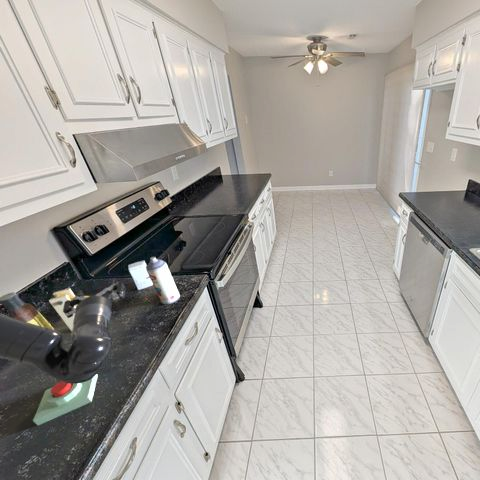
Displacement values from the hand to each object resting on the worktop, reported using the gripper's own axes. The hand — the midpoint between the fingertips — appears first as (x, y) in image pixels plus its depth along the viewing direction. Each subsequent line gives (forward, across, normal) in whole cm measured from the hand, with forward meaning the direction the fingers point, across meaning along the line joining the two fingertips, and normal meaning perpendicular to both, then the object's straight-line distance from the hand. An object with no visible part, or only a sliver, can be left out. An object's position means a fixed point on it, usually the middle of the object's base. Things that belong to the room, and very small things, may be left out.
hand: (98, 287), depth 82 cm
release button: (-21, +12, +16) cm, 29 cm away
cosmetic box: (+24, -8, +19) cm, 32 cm away
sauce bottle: (+14, +24, +19) cm, 33 cm away
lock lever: (+11, +7, +10) cm, 16 cm away
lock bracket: (+11, +13, +19) cm, 26 cm away
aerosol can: (+8, -16, +20) cm, 26 cm away
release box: (-21, +12, +19) cm, 31 cm away
